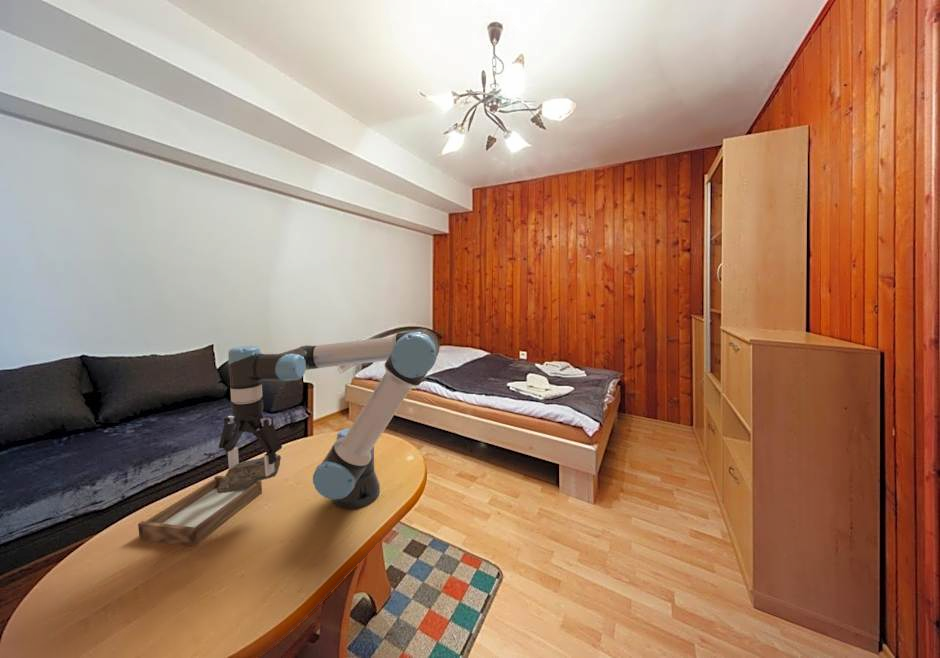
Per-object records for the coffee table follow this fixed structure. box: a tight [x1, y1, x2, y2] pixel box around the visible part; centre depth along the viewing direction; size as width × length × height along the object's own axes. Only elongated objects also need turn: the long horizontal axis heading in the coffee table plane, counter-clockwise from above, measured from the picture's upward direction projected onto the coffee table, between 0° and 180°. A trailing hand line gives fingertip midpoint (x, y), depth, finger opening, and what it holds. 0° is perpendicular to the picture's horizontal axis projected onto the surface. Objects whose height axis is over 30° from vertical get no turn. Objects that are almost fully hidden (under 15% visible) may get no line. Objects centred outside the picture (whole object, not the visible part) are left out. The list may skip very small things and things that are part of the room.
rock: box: [217, 454, 282, 493], centre depth 95 cm, size 17×7×10 cm
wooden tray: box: [137, 475, 263, 548], centre depth 99 cm, size 17×24×5 cm
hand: (252, 472), depth 95 cm, fingers closed on rock, 11 cm apart
